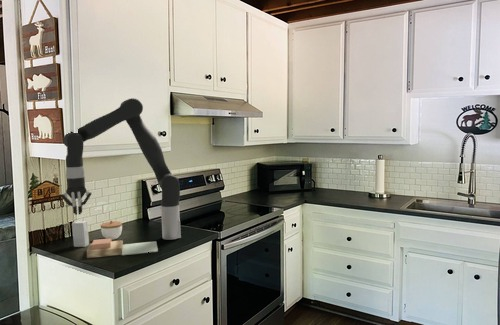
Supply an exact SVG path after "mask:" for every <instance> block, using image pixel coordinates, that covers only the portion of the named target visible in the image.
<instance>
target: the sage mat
mask: <svg viewBox="0 0 500 325" xmlns="http://www.w3.org/2000/svg"><path fill="white" fill-rule="evenodd" d="M158 251H159V248H158V244H157V241H145V242H135V243H125V244H124V243H123V250H122V254H121V256H127V255H138V254H149V253H157V252H158ZM148 252H149V253H148Z"/></svg>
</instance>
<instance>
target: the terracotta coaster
mask: <svg viewBox="0 0 500 325" xmlns="http://www.w3.org/2000/svg"><path fill="white" fill-rule="evenodd" d="M112 241H113V240H111V238H109V239H106V238H99V239H93V241H92V249H102V248H111V243H112Z"/></svg>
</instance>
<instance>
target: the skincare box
mask: <svg viewBox="0 0 500 325" xmlns="http://www.w3.org/2000/svg"><path fill="white" fill-rule="evenodd" d="M71 227H72V228H71V229H72V238H73V247H75V248H82V247H83V248H86V247H89V244H90V238H89V237H90V236H89V227H88V221H87V220H84V221H83V220H82V221H77V220H75V221H74V222H72V223H71Z"/></svg>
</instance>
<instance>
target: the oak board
mask: <svg viewBox="0 0 500 325" xmlns="http://www.w3.org/2000/svg"><path fill="white" fill-rule="evenodd" d="M111 241H112V243H111V248H102V249H92V243H93V242H92V243H91V242H89V245H88V246H87V249H86V259H91V258H101V257H109V256H110V257H113V256H119V255H120V256H122V250H123V245H124V240H121V239H120V240H111Z"/></svg>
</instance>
